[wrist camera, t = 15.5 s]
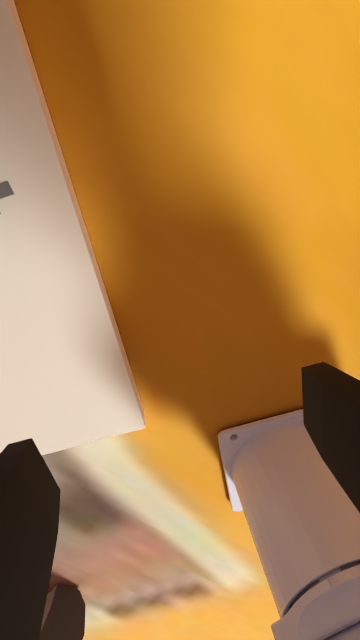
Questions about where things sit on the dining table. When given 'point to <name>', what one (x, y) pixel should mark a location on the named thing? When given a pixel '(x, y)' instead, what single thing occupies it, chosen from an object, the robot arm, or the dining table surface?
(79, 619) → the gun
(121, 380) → the marked board
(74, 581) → the dining table surface
